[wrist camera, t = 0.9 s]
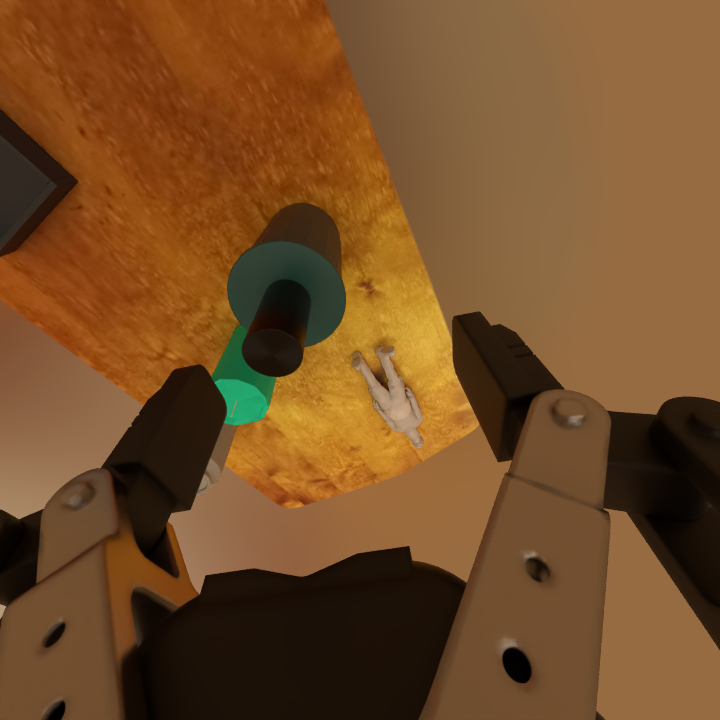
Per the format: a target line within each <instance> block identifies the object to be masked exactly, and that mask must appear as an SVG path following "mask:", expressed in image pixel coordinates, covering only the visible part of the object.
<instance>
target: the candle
mask: <svg viewBox="0 0 720 720" xmlns="http://www.w3.org/2000/svg"><path fill="white" fill-rule="evenodd" d="M247 332H248V331H247V330H246V329H245V328H244V327H243V326H242V325H240V326H238V327H236V329H235V331H234V333H233V335H232V337H231V339H230V341H229V343H228V345H227V347H226V349H225V351H224V353H223V355H222V357H221V359H220V361H219V363H218V365H217V367H216V369H215V371H214V373H213V375H212V377H211V378H212V379H213V381H214V383H215V384H216V386H217V387H218V389H219V390H220V392H221V394H222V395H223V397H224V399H225V401H226V405H227V416H226V419H225V421H224V423H226V424H230V425H234V426H235V425H240V424H245V423H250V422H254V421H258V420H261V419H263V418H264V416H265V414H266V412H267V410H268V408H269V405H270V401H271V397H272V393H273V389H274V385H275V381H276V377H270V376H265V375H262V374H260V373H258V372H256V371H254V370H253V369H252V368H250V367H249V366H248V364H247V363H246V362H245V360H244V358H243V355H242V344H243V341H244V339H245V337H246V335H247Z"/></svg>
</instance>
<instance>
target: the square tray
mask: <svg viewBox="0 0 720 720" xmlns="http://www.w3.org/2000/svg"><path fill="white" fill-rule="evenodd" d="M76 183H77V180H75V179H74V178H73V177H72V176H71V175H70V174H69V173H68V172H67V171H66V170H65V169H64V168H63V167H61V166H60V165H59V164H58V163H57V162H56V161H55V160H54V159H53V158H52V157H51V156H50V155H49V154H48V153H46V152H45V151H44V150H43V149H42V148H41V147H40V146H39V145H38V144H37V143H36V142H35V141H34V140H32V139H31V138H30V137H29V136H28V135H27V134H26V133H25V132H24V131H23V130H22V129H21V128H20V127H19V126H17V125H16V124H15V123H14V122H13V121H12V120H11V119H10V118H9V117H8V116H7V115H6V114H5V113H4V112H2V111H1V110H0V257H1V256H4V255H6V254H9V253H11V252H14V251H16V250H17V248H18V247H19V246H20V245H21V244H22V243H23V242H24V241H25V240H26V239H27V237H28V236H29V235H30V234H31V233H32V232H33V231H34V230H35V229H36V228H37V226H38V225H39V224H40V223H41V222H42V221H43V220H44V219H45V218H46V216H47V215H48V214H49V213H50V212H51V211H52V210H53V209H54V208H55V207H56V205H57V204H58V203H59V202H60V201H61V200H62V199H63V198H64V197H65V195H66V194H67V193H68V192H69V191H70V190H71V189H72V188H73V187H74V186H75V184H76Z"/></svg>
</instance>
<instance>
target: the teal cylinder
mask: <svg viewBox="0 0 720 720" xmlns="http://www.w3.org/2000/svg"><path fill="white" fill-rule="evenodd" d="M275 239H287V240H294V241H298V242H302V243H304V244H307V245H309V246H311V247H313V248H315V249H317V250H318V251H320V252H321V253H322V254H324V255H325V256H326V257H327V258H328V259H329V260H330V261H331V262H332V263H333V265H334V266H335V267H336V269H337V270H338V272H339V274H340V276H341V278H342V268H341V241H340V235H339V232H338V229H337V227H336V225H335V223H334V221H333V220H332V219H331V217H330V216H329V215H328V214H327V213H326V212H324V211H323V210H322V209H320V208H318V207H316V206H314V205H310V204H305V203H297V204H292V205H289V206H287V207H285V208H283V209H282V210H280V211H279V212H278V213H277V214H276V215H275V216H274V217H273V218H272V220H271V221H270V223H269V224H268V225H267V227H266V228H265V230H264V231H263V232H262V234H261V235H260V237H259V238H258V239H257V241H256V242H255V244H254V245H257V244H259V243H261V242H265V241H268V240H275ZM254 245H253V246H254Z"/></svg>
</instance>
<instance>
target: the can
mask: <svg viewBox="0 0 720 720" xmlns="http://www.w3.org/2000/svg"><path fill="white" fill-rule="evenodd" d="M237 426H238V425H235V426H234V425H230V424H226V423H224V424H223V427H222V429H221V432H220V434H219V437H218V440H217V442H216V445H215V447H214V450H213V453H212V455H211V458H210V460H209V463H208V465H207V468H206V471H205V473H204V476H203V478H202V481H201V484H200V486H199V489H198V491H197V494H196V496H199V495H203V494H204V493H206V492H207V491H208V490H209V489H210V487H211V485H212V484H214V483H215V482H217V481H218V479H219V478H220V476H221V474H222V471H223V468H224V465H225V462H226V459H227V456H228V453H229V450H230V447H231V444H232V441H233V438H234V435H235V432H236V429H237Z"/></svg>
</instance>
